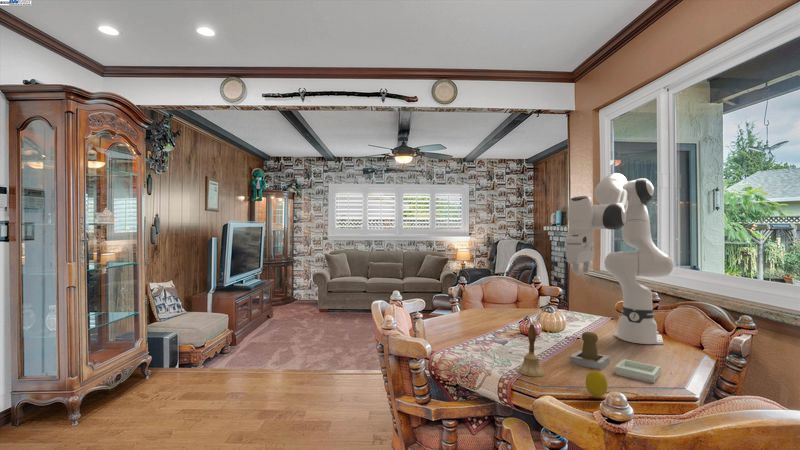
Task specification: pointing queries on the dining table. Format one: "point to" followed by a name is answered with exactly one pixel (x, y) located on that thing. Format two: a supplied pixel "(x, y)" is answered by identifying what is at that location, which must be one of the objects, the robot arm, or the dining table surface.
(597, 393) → the lemon
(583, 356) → the cork
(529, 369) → the hand bell
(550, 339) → the dining table surface
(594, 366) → the grey square frame
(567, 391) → the dining table surface
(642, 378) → the sage tray
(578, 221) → the robot arm
